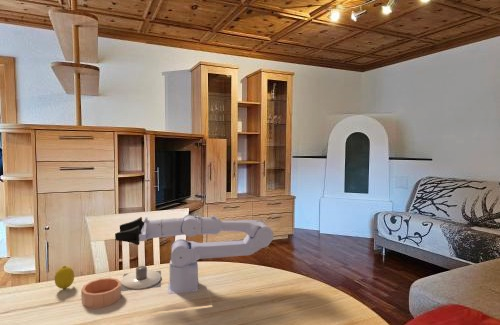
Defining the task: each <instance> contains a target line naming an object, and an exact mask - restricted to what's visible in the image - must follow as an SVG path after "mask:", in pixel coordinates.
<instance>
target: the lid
mask: <svg viewBox="0 0 500 325" xmlns="http://www.w3.org/2000/svg"><path fill="white" fill-rule="evenodd" d="M156 271H157V270H150V269H148V267H147V266H146V265H140V266H137V267H135V271H132V272H129V273H126V274H127V275H126V276H124V275H123V276H124V277H123V276H122V278H121V280H120V282H121V283H122V285H123V286H124V287H126V288H129V289H136V290H143V288H145V289H148V288H147V287H151V286H153V285H155V284H157V283H158V282H159V281H160V279H161V278H162V274H161V275H160V274H159V273H158V272H156Z"/></svg>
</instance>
